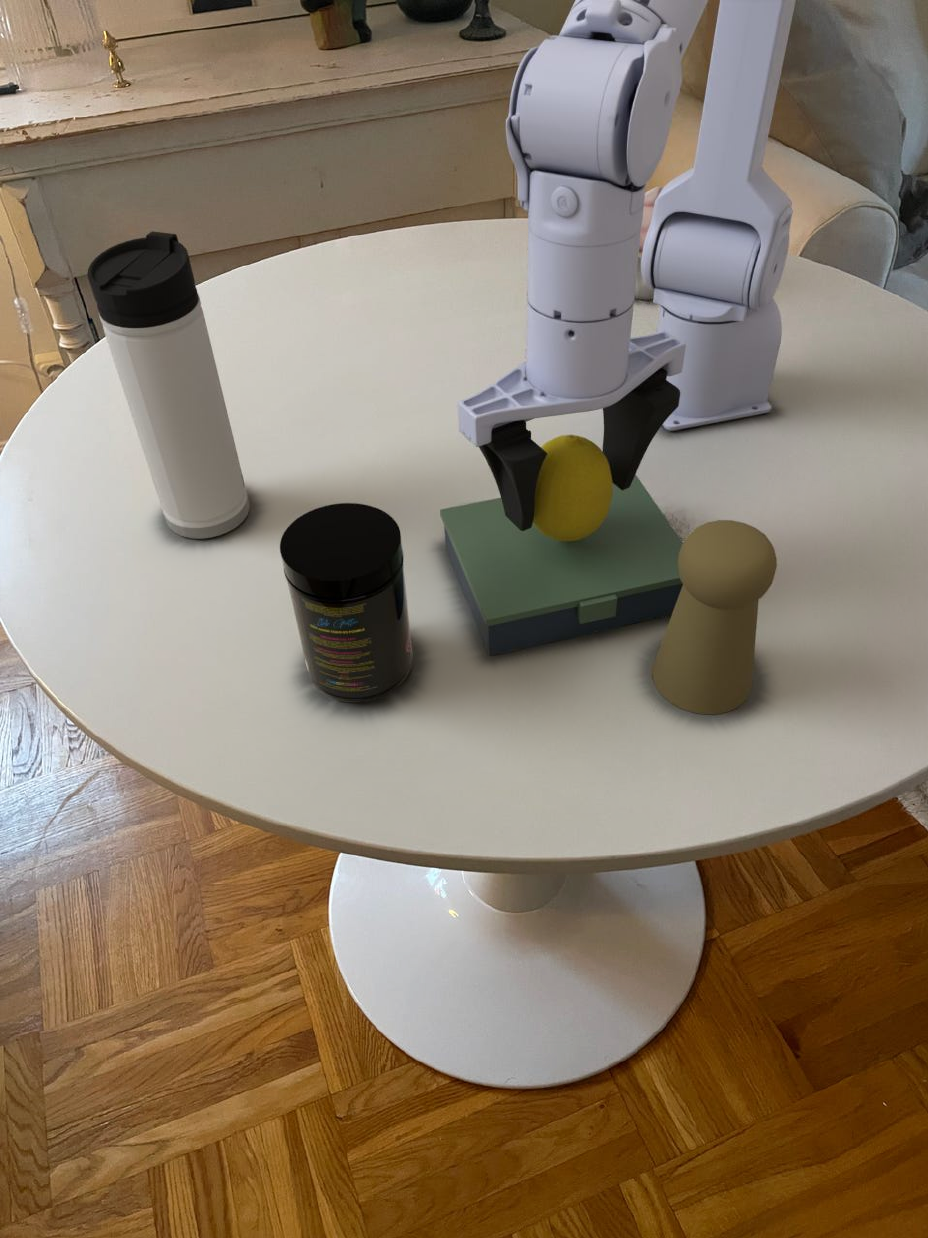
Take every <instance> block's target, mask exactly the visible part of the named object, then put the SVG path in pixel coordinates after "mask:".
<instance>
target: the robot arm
mask: <svg viewBox="0 0 928 1238" xmlns="http://www.w3.org/2000/svg"><path fill="white" fill-rule="evenodd" d="M708 1H709V0H574V3H573V4H572V7H571V9H570V11H569V13H568V15H567V16H566V19H565V21H564V24H563V25H562V27H561V29H560V32H559V34H558V35H550V36H549V38H545V39H544V40H543V41H542V42H541V43H540V45H537V46H534V47H531V48H530V49H529V50H528V51H527V52H526V53H525V55H524V56H523V57H522V59H521V61H520V63H519V66H518V68H517V70H516V73H515V76H514V79H513V82H512V87H511V93H510V96H509V97H510V98H509V107H508V115H507V117H506V119H505V133H506V134H505V137H506V144H507V149H508V153H509V156H510V157H509V158H510V159H511V162H512V163H513V165H514V168H515V172H516V177H517V179H516V180H517V201H518V202H519V206H520V208H522V209H523V210H524V211H525V212H528V213H527V223H528V224H527V268H526V269H527V275H526V334H525V335H526V338H525V339H526V340H525V351H524V352H525V353H524V355H525V356H524V358H525V361H524V362H522V363H521V364H519V365H518V366H516V367H515V368H514V369H512V370H511V371H509V372H508V373H506V374H505V375H503V376H502V377H500V378H499V379H497V380H496V381H495V382H493V383H491V384H489V386H487V387H486V388H484V389H483V390H481V391H480V392H477V393H475V394H474V395H472V396H469V397H466V398H464V399H462V400H459V401H457V417H458V432H459V433H461V434H462V435H463V437H464V438H465V439H466V440H468V441H469V442H470V443H471V444H472V445H473V446H475V447H476V448H479V450H480V452H481V454H482V455H483V457H484V459H485V461H486V463H487V465H488V467H489V470H490V471H491V473H492V476H493V478H494V481H495V483H496V486H497V489H498V492H499V495H500V498H501V499H502V503H503V507H504V512H505V516H506V517H507V518H508V519H509V520H510V521H511V522H512V523H513V524H514V525H515V526H516V527H517V528H518V529H519V530H520V531H525V530H527V529H530V528H531V527H532V524H533V520H534V509H535V490H536V485H537V480H538V476H539V472H540V469H541V467H542V464H543V462H544V460H545V457H546V455H547V454H548V453H547V452H546V451H544V450H543V449H542V448H541V447H542V446H540V445H539V444H538V443H536V442H535V441H534V440H533V439H532V430H528V429H527V422H529V421H533V420H534V419H542V418H548V417H556V416H564V415H571V414H580V413H587V412H594V411H598V410H602V414H603V415H602V416H603V435H602V436H603V437H602V452H603V453H604V455H605V456H606V458H607V460H608V463H609V466H610V471H611V476H612V483H614V484H615V485H616V486H617V487H618V488H620V489H621V490H625V489H627V488H629V487H630V485H631V483H632V481H633V479H634V477H635V474H636V475H637V472H638V470H639V467H640V465H641V463H642V460H643V458H644V456H645V454H646V453H647V450H648V448H649V446H650V445H651V443H652V441H653V439H654V438H655V436H656V435H657V433H658V432H659V431H660V429H661V428H662V427H663V428H664V429H665V430H666V431H670V432H672V431H673V432H674V431H678V430H683V429H684V430H685V429H690V428H695V427H699V426H704V425H710V424H715V423H716V424H717V423H720V422H721V423H722V422H727V421H731V420H736V419H742V418H747V417H753V416H757V415H764V414H767V413H770V412H771V411H772V404H770V403H769V401H768V400H769V395H770V392H771V387H772V382H773V378H774V374H775V369H776V365H777V362H778V361H777V360H778V356H779V351H780V347H781V342H782V335H783V329H782V327H783V326H782V325H783V324H782V317H781V312H780V308H779V305H778V304H777V302H776V300H775V299H774V296H775V295H776V293H777V289H778V288H779V284H780V281H781V280H782V279H781V278H782V275H783V272H784V269H785V266H786V261H787V257H788V253H789V247H790V229H791V223H792V218H793V213H794V212H793V208H792V205H793V202H792V200H791V198H790V196H789V195H788V194H787V193H786V192H785V191H784V190H783V188H781V187H780V186H779V185H778V184H777V183H776V182H775V181H774V179H772V177H771V176H770V175H769V174H768V172H766V170H765V169H764V167H763V164H764V159H765V155H766V149H767V144H768V140H769V134H770V131H771V130H770V129H771V124H772V119H773V114H774V109H775V105H776V100H777V95H778V90H779V85H780V80H781V75H782V69H783V65H784V59H785V55H786V50H787V45H788V41H789V35H790V30H791V25H792V21H793V15H794V10H795V6H796V1H797V0H719V5H718V12H717V17H716V24H715V31H714V37H713V43H712V50H711V57H710V61H709V62H710V63H709V69H708V74H707V80H706V81H707V82H706V88H705V94H704V100H703V107H702V113H701V118H700V126H699V132H698V138H697V145H696V150H695V158H694V164H693V167H691V168H689V169H688V170H686V171H684V172H682V173H681V174H679V175H677V176H676V177H674V178H673V179H671V180H670V181H669V182H668V183H666V185H664V187H662V188H663V189H662V191H661V192H660V194H659V195H658V197H657V199H656V200H655V203H654V209H653V214H652V219H651V224H650V226H649V229H648V231H647V235H646V238H645V242H644V246H643V251H642V258H641V273H642V277H643V279H644V281H645V284H646V286H647V288H649V289H653V290H654V299H652V301H653V304H656V305H658V306H659V310H658V318H657V326H656V327H657V328H656V332H655V333H652V334H646V335H642V336H635V337H632V335H631V334H632V326H633V318H634V317H633V316H634V307H635V298H634V295H635V285H636V276H637V266H638V256H639V246H640V236H641V226H642V218H643V209H644V199H645V193H646V189H647V188H646V187H647V183H648V182H649V181H650V180H651V178H652V177H653V175H654V174H655V172H656V170H657V168H658V166H659V164H660V162H661V160H662V158H663V155H664V152H665V149H666V146H667V143H668V138H669V135H670V131H671V126H672V121H673V117H674V112H675V107H676V104H677V100H678V97H679V95H680V94H681V87H682V84H683V73H682V60H683V58H684V55H685V53H686V51H687V49H688V46H689V44H690V41H691V40H692V37H693V35H694V32H695V31H696V29H697V26H698V23H699V21H700V19H701V17H702V15H703V13H704V10H705V9H706V6H707V4H708Z"/></svg>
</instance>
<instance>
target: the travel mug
mask: <svg viewBox="0 0 928 1238" xmlns="http://www.w3.org/2000/svg"><path fill="white" fill-rule="evenodd" d="M86 275H87V280H88V284H89V286H90V289H91V292H92V295H93V299H94V301H95V303H96V307H97V311H98V317H99V320H100V323H101V324H102V327H103V328H102V329H103V332H104V336H105V339H106V341H107V345H108V348H109V351H110V353H111V357H112V361H113V363H114V366H115V369H116V372H117V375H118V378H119V381H120V384H121V387H122V391H123V394H124V396H125V400H126V402H127V406H128V409H129V412H130V415H131V418H132V422H133V424H134V428H135V430H136V433H137V436H138V439H139V442H140V446H141V449H142V452H143V455H144V458H145V461H146V464H147V467H148V470H149V473H150V477H151V479H152V483H153V485H154V488H155V489H154V490H155V491H156V495H157V498H158V501H159V504H160V507H161V510H162V513H163V516H164V519H165V522H166V525H167V526H168V528H169V529H170V530H171V531H172V532H174V533H175V534H176V535H179V536H181V537H185V538H186V539H187V538H188V539H195V540H196V539H199V540H200V539H201V540H203V539H209V538H214V537H219V536H222V535H225V534H227V533H228V532H229V533H230V532H231V531H233V530H235V529H236V528H237V527H238V526H240V525H241V524H242V523H243V522H244V521H245V519H246V518H247V516H248V514H249V511H250V504H251V503H250V500H249V496H248V493H247V492H248V491H247V488H246V484H245V480H244V475H243V471H242V467H241V463H240V459H239V455H238V451H237V446H236V443H235V438H234V434H233V430H232V425H231V422H230V417H229V414H228V409H227V405H226V401H225V397H224V393H223V392H224V391H223V388H222V384H221V380H220V376H219V371H218V367H217V363H216V360H215V359H216V358H215V355H214V351H213V347H212V343H211V339H210V335H209V331H208V326H207V322H206V318H205V314H204V310H203V308H202V301H201V298H200V295H199V293H198V289H197V287H196V285H195V284H196V281H195V276H194V272H193V268H192V264H191V260H190V256H189V253H188V250H187V248H186V247H185V246H184V245H183V244H182V243H181V242H179V238H178V236H177V234H176V233H171V232H161V231H153V230H152V231H150V232H149V233H147V234H145V237H140V238H134V239H129V240H126V241H123V242H121V243H117V244H115V245H113V246H110V247H109V248H107V249H106V250H104V251H102V252H101V253H99V255H97V256H96V257H95V258H94V259H93V260H92V261H91V262H90V264H89V267H88V269H87V273H86Z"/></svg>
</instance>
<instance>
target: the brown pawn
mask: <svg viewBox="0 0 928 1238" xmlns="http://www.w3.org/2000/svg"><path fill="white" fill-rule="evenodd" d="M682 542H683V544H682V547H681V549H680V552H679V556H678V568H679V575H680V580H681V582H682V583H683V586H682V589H681V591H680V594H679V597H678V600H677V602H676V605H675V608H674V610H673V613H672V615H670V618H669V620H668V623H667V627H666V629H665V632H664V634H663V637H662V640H661V643H660V645H659V648H658V651H657V654H656V656H655V660H654V663H653V665H652V668H651V673H652V676H651V677H652V682H653V684H654V686H655V687H656V690H657V692H658V693H659V694H661V696H662V697H664V698H665V700H667V702H669V704H672V705H674V706H676V707H678V708H680V709H681V710H684V711H687V712H691V713H695V714H698V715H719V714H724V713H727V712H732V711H733V710H734V709H736V708H738V707H740V706H741V705H743V703H745V701H746V700H747V698H748V697H749V696H750V693H751V690H752V685H753V676H754V665H755V664H754V662H755V650H756V640H757V639H756V638H757V627H758V626H757V625H758V615H759V613H758V612H759V601H760V599H761V598H763V596H764V595H765V594H766V593H767V592H768V591H769V589H770V588H771V586H772V585H773V582H774V579H775V575H776V572H777V568H778V562H777V561H778V560H777V556H776V555H777V554H776V550H775V548H774V546H773V543H772V542H771V540H770V539H769V538H768V537H767V535H766V534H765V533H764V532H762V531H761V530H760V529H758V528H757V527H755V526H753V525H750V524H748V523H746V522H741V521H738V520H732V519H718V520H712V521H707V522H705V523H703V524H701V525H699V526H697V527H696V528H694V530H693V529H692V531H691V532H690V533H689V534H688V535H687V536H686V537H685V539H684V540H683V541H682Z"/></svg>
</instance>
